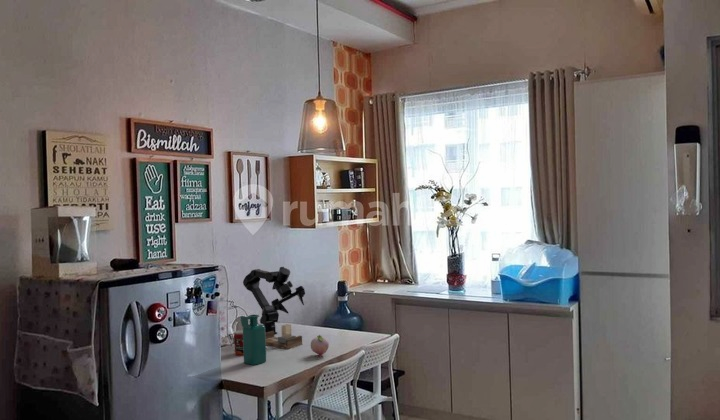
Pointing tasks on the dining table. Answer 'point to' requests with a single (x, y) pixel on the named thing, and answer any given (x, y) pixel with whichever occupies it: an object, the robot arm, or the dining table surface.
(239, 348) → the canned food
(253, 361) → the pitcher
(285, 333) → the handle
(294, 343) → the base
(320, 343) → the decorative fruit
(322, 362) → the dining table surface
